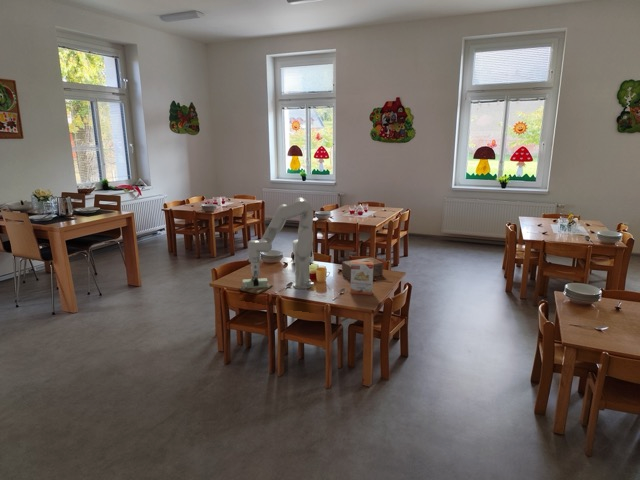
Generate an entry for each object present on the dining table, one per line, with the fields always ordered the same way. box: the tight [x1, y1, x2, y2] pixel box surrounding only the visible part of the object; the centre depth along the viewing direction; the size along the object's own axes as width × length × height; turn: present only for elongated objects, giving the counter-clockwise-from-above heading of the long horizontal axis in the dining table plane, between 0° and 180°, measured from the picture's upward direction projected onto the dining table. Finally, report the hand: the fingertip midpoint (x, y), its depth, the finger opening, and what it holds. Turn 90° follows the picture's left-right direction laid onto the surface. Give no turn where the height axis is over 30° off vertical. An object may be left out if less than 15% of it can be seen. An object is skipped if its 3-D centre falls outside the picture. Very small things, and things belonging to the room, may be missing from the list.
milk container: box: [291, 239, 315, 265], centre depth 334 cm, size 17×17×18 cm
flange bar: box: [242, 277, 268, 289], centre depth 282 cm, size 16×5×4 cm, turn 101°
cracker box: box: [349, 261, 374, 296], centre depth 272 cm, size 14×6×21 cm, turn 80°
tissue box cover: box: [341, 257, 384, 281], centre depth 308 cm, size 26×14×10 cm, turn 116°
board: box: [238, 283, 273, 295], centre depth 282 cm, size 16×16×6 cm
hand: (255, 283), depth 282 cm, fingers open, 9 cm apart
